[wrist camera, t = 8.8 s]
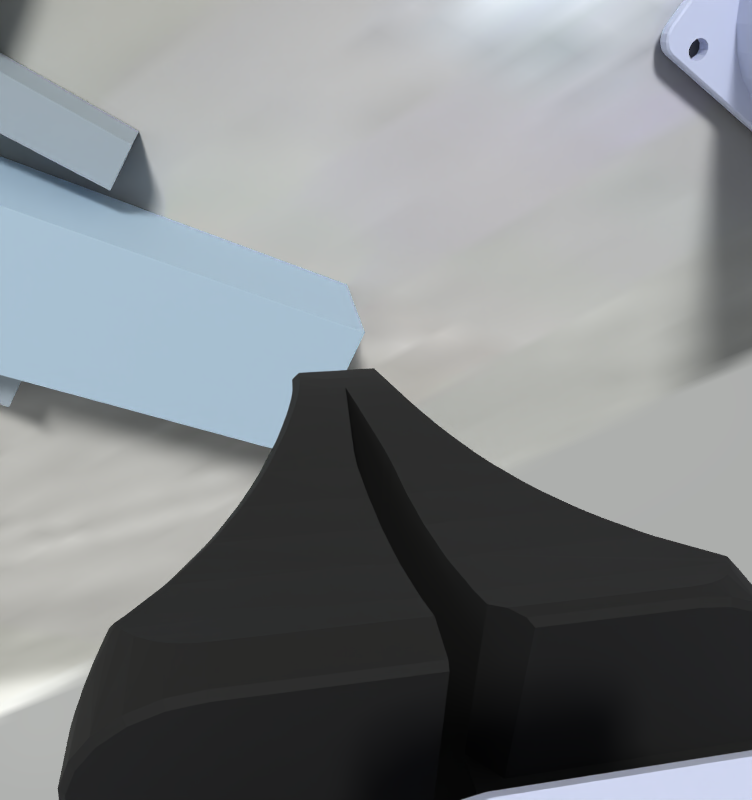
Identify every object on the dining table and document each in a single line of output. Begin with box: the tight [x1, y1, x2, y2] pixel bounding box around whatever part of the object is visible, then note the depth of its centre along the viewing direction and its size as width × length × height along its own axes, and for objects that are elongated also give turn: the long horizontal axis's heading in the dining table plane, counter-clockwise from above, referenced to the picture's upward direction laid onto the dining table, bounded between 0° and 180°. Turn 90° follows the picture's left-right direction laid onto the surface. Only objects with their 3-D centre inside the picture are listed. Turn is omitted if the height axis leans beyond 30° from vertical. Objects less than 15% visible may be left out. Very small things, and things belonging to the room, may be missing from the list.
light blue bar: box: [0, 156, 365, 448], centre depth 18 cm, size 12×4×4 cm, turn 65°
